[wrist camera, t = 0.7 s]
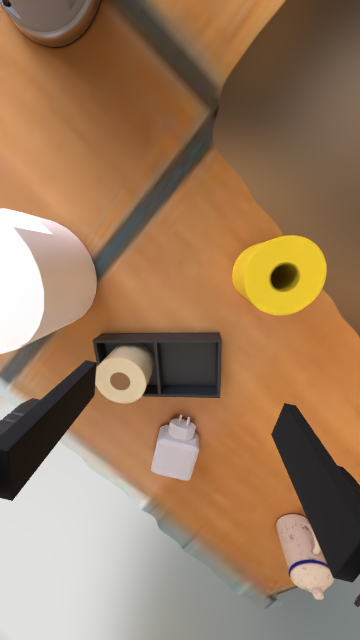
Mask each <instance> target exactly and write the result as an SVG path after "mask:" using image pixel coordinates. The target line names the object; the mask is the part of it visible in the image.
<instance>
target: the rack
mask: <svg viewBox="0 0 360 640" xmlns="http://www.w3.org/2000/svg"><path fill="white" fill-rule="evenodd" d="M121 343H140V344H142V345H144V346H145V347H147V348H148V349H149V350H150V352H151V353H152V355H153V357H154V362H155V365H154V370H153V372H152V375H151V377H150V379H149V382H148V384H147V387H146V389H145V392H144V393H143V395H142V396H154V397H200V398H220V382H221V337H220V334H219V333H120V334H101V335H99V336H98V337H97V338H95V339H94V340H93V344H94V350H95V355H96V361H97V366H99V364H100V363H101V362H102V361H103V360H104V359H105V358H106V357H107V356H108V355H109V354H110V353H111V352H112V351H113V350H114V349H115V348H116V347H117V346H118V345H119V344H121Z"/></svg>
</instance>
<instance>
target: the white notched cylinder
mask: <svg viewBox="0 0 360 640" xmlns="http://www.w3.org/2000/svg"><path fill="white" fill-rule="evenodd" d="M96 287H97V277H96V271H95V266H94V263H93V261H92V259H91V256H90V254H89V252H88V250H87V249H86V248H85V246H84V245H83V243H82V242H81V240H80V239H79V238H78V237H76V236H75V235H74V234H73V233H72V232H71V231H70V230H69V229H67V228H65V227H63V226H62V225H60V224H58V223H56V222H54V221H50V220H47V219H43V218H39V217H36V216H32V215H29V214H25V213H22V212H18V211H13V210H9V209H0V354H3V353H6V352H10V351H13V350H17V349H19V348H21V347H23V346H25V345H27V344H29V343H31V342H33V341H35V340H37V339H40V338H42V337H44V336H46V335H48V334H50V333H52V332H54V331H56V330H58V329H60V328H62V327H65V326H67V325H69V324H71V323H73V322H75V321H76V320H78V319H79V318H81V317H82V316H84V315H85V313H86V312H87V311H88V310H89V308H90V307H91V306H92V303H93V300H94V298H95V295H96Z"/></svg>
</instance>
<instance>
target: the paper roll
mask: <svg viewBox="0 0 360 640" xmlns="http://www.w3.org/2000/svg"><path fill="white" fill-rule="evenodd" d="M154 365H155V362H154V357H153V355H152V353H151V352H150V350H149V349H148V348H147V347H145V346H144V345H142V344H140V343H121V344H119V345H118V346H117V347H116V348H115V349H114V350H113V351H112V352H111V353H110V354H109V355H108V356H107V357H106V358H105V359H104V360H103V361H102V362H101V363H100V364H99V366H98V367H97V369H96V379H95V383H96V386H97V388H98V390H99V391H100V392H101V393H102V395H104V396H105V397H106V398H108V399H109V400H111V401H113V402H117V403H131V402H134V401H136V400H138V399H139V398H140V397H141V396H142V395H143V393H144V392H145V389H146V387H147V384H148V382H149V379H150V377H151V375H152V372H153V370H154Z"/></svg>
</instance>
